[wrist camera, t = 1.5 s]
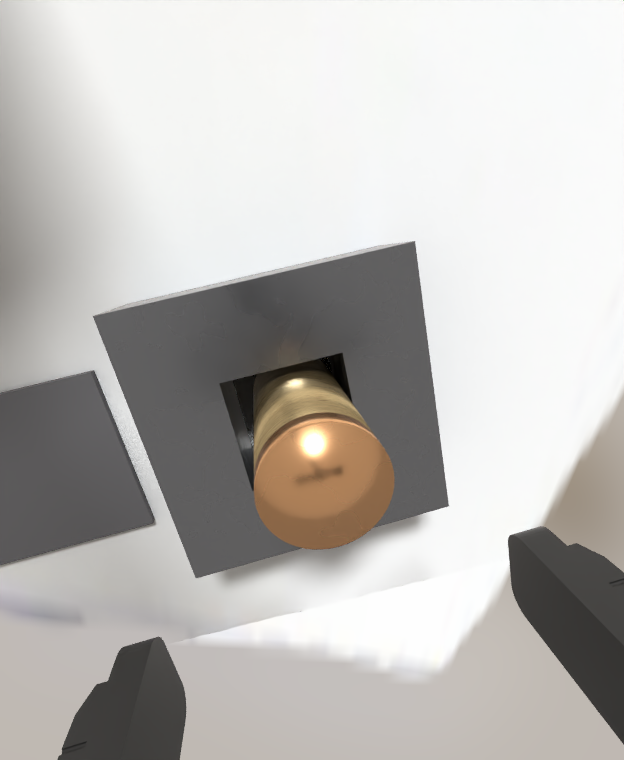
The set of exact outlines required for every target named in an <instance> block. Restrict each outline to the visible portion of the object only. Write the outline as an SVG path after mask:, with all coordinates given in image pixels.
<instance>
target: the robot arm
mask: <svg viewBox="0 0 624 760" xmlns="http://www.w3.org/2000/svg"><path fill="white" fill-rule="evenodd" d="M508 547H509V559H510V572H511V584H512V590H513V593H514V596H515V599H516V601H517V603H518V605H519V607H520V609H521V611H522V612H523V614H524V615H525V617H526V618H527V620H528V621H529V622H530V624H531V625H532V626H533V627H534V629H535V630H536V631H537V632H538V634H539V635H540V636H541V638H542V639H543V640H544V642H545V643H546V644H547V645H548V647H549V648H550V649H551V651H552V652H553V653H554V655H555V656H556V657H557V658H558V660H559V661H560V662H561V664H562V665H563V666H564V668H565V669H566V670H567V671H568V673H569V674H570V675H571V677H572V678H573V679H574V681H575V682H576V683H577V684H578V686H579V687H580V688H581V690H582V691H583V692H584V693H585V695H586V696H587V697H588V699H589V700H590V701H591V703H592V704H593V705H594V706H595V708H596V709H597V710H598V712H599V713H600V714H601V716H602V717H603V718H604V719H605V721H606V722H607V723H608V725H609V726H610V727H611V729H612V730H613V731H614V732H615V734H616V735H617V736H618V738H619V739H620V740H621V741H622V743H623V744H624V573H623V572H622V571H621V570H620V569H619V568H617V567H616V566H615V565H614V564H613V563H611V562H610V561H609V560H608V559H607V558H605V557H604V556H602V555H600V554H597V553H596V552H593V551H591V550H589V549H587V548H585V547H583V546H581V545H579V544H577V543H576V544H573V545H569V546H567V545H566V544H564V543H563V542H562V541H561V540H560V539H559V538H558V537H557V536H556V535H554V534H553V533H552V532H551V531H550V530H549V529H547V528H546V527H542V526H540V527H537V528H534V529H530V530H527V531H523V532H520V533H516V534H513V535H510V536H509V539H508ZM185 719H186V698H185V691H184V687H183V684H182V681H181V679H180V677H179V675H178V673H177V671H176V668H175V666H174V664H173V661H172V659H171V657H170V655H169V652H168V650H167V648H166V646H165V643H164V641H163V640H162V639H161V638H160V637H156V638H153V639H149V640H146V641H142V642H139V643H135V644H132V645H129V646H125V647H123V648H121V650H120V651H119V653H118V655H117V657H116V660H115V663H114V666H113V668H112V671H111V674H110V677H109V680H108V681H107V682H104V683H100V684H97V685H96V686H95V687H94V689H93V690H92V692H91V693H90V695H89V696H88V697H87V699H86V700H85V702H84V703H83V705H82V706H81V708H80V709H79V710H78V712H77V713H76V715H75V717H74V719H73V722H72V724H71V727H70V729H69V732H68V735H67V737H66V740H65V742H64V745H63V747H62V755H60V756H59V757H58V760H180V752H181V747H182V740H183V733H184V726H185Z"/></svg>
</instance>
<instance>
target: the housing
mask: <svg viewBox="0 0 624 760" xmlns="http://www.w3.org/2000/svg"><path fill="white" fill-rule="evenodd" d="M93 317H94V320H95V323H96V325H97V328H98V330H99V333H100V335H101V338H102V340H103V343H104V345H105V348H106V351H107V353H108V356H109V358H110V361H111V363H112V366H113V368H114V371H115V373H116V376H117V379H118V381H119V384H120V386H121V389H122V391H123V394H124V396H125V399H126V401H127V404H128V407H129V409H130V412H131V414H132V417H133V419H134V422H135V424H136V427H137V429H138V432H139V435H140V437H141V440H142V442H143V445H144V447H145V450H146V452H147V455H148V458H149V460H150V463H151V465H152V468H153V470H154V473H155V475H156V478H157V480H158V483H159V486H160V488H161V491H162V493H163V496H164V498H165V501H166V503H167V506H168V508H169V511H170V514H171V516H172V519H173V521H174V524H175V526H176V529H177V531H178V534H179V536H180V539H181V542H182V544H183V547H184V549H185V552H186V554H187V557H188V559H189V562H190V564H191V567H192V570H193V572H194V575H195V577H196V578H199V577H202V576H206V575H209V574H213V573H216V572H220V571H223V570H227V569H230V568H234V567H237V566H241V565H244V564H248V563H251V562H255V561H258V560H262V559H265V558H269V557H272V556H276V555H279V554H283V553H286V552H290V551H293V550H297V549H300V548H301V547H296V546H294V545H291V544H288V543H286V542H284V541H282V540H281V539H279V538H278V537H276V536H275V535H274V534H273V533H272V532H271V531H270V530H269V529H268V528H267V527H266V526H265V525H264V523H263V522H262V520H261V518H260V516H259V514H258V511H257V509H256V505H255V499H254V446H253V447H252V444H251V441H250V437H249V434H248V430H247V427H246V424H245V420H244V417H243V414H242V410H241V407H240V403H239V400H238V397H237V393H236V390H235V387H234V383H233V380H235V379H239V378H243V377H247V376H251V375H255V374H259V373H263V372H267V371H271V370H275V369H279V368H283V367H287V366H291V365H295V364H299V363H303V362H307V361H311V360H315V359H319V358H323V357H327V356H329V360H330V365H331V370H332V374H333V377H334V378H335V380H336V381H337V382H338V384H339V385H340V387H341V388H342V389H343V391H344V392H345V394H346V395H347V397H348V398H349V399H350V401H351V402H352V404H353V405H354V406H355V408H356V409H357V411H358V412H359V414H360V415H361V416H362V418H363V419H364V421H365V422H366V423H367V425H368V426H369V428H370V429H371V431H372V432H373V433H374V435H375V436H376V438H377V439H378V440H379V442H380V443H381V445H382V446H383V447H384V449H385V451H386V452H387V454H388V455H389V458H390V460H391V463H392V466H393V470H394V490H393V495H392V498H391V501H390V504H389V506H388V508H387V510H386V512H385V513H384V515H383V516H382V518H381V519H380V520H379V521H378V523H377V524H376V525H375V526H374V527H377V526H381V525H384V524H388V523H391V522H395V521H398V520H402V519H405V518H409V517H412V516H416V515H419V514H423V513H426V512H430V511H433V510H437V509H440V508H444V507H447V506H449V504H448V497H447V489H446V481H445V473H444V465H443V457H442V450H441V442H440V434H439V426H438V418H437V411H436V403H435V395H434V387H433V379H432V372H431V364H430V356H429V348H428V340H427V333H426V325H425V317H424V309H423V301H422V294H421V286H420V278H419V270H418V262H417V254H416V247H415V241H412V242H404V243H396V244H388V245H380V246H376V247H372V248H367V249H363V250H359V251H354V252H350V253H346V254H341V255H337V256H333V257H329V258H324V259H320V260H316V261H311V262H307V263H303V264H298V265H294V266H290V267H285V268H281V269H277V270H272V271H268V272H264V273H260V274H255V275H251V276H247V277H242V278H238V279H234V280H229V281H225V282H221V283H216V284H212V285H208V286H204V287H199V288H195V289H191V290H186V291H182V292H178V293H173V294H169V295H165V296H160V297H156V298H152V299H148V300H143V301H139V302H135V303H130V304H127V305H124V306H121V307H118V308H115V309H112V310H109V311H106V312H104V313H101V314H98V315H95V316H93ZM374 527H373V528H374Z"/></svg>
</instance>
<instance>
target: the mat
mask: <svg viewBox="0 0 624 760" xmlns="http://www.w3.org/2000/svg"><path fill="white" fill-rule="evenodd" d="M153 522H154V516H153V514H152V512H151V509H150V507H149V504H148V502H147V499H146V497H145V495H144V492H143V490H142V487H141V485H140V482H139V480H138V477H137V475H136V473H135V470H134V468H133V465H132V463H131V460H130V458H129V455H128V453H127V451H126V448H125V446H124V443H123V441H122V438H121V436H120V434H119V431H118V429H117V426H116V424H115V421H114V419H113V416H112V414H111V412H110V409H109V407H108V404H107V402H106V399H105V397H104V394H103V392H102V390H101V387H100V385H99V382H98V380H97V377H96V375H95V373H94V370H93V371H89V372H85V373H81V374H76V375H72V376H68V377H64V378H60V379H56V380H52V381H48V382H43V383H39V384H35V385H31V386H27V387H23V388H19V389H15V390H10V391H6V392H2V393H0V565H2V564H6V563H9V562H13V561H17V560H20V559H24V558H28V557H31V556H35V555H38V554H42V553H46V552H49V551H53V550H57V549H60V548H64V547H68V546H71V545H75V544H79V543H82V542H86V541H90V540H93V539H97V538H101V537H104V536H108V535H112V534H115V533H119V532H123V531H126V530H130V529H134V528H137V527H141V526H145V525H148V524H152V523H153Z"/></svg>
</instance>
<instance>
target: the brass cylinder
mask: <svg viewBox="0 0 624 760" xmlns="http://www.w3.org/2000/svg"><path fill="white" fill-rule="evenodd" d="M253 413H254V499H255V505H256V509H257V511H258V514H259V516H260V518H261V520H262V522H263V523H264V525H265V526H266V527H267V528H268V529H269V530H270V531H271V532H272V533H273V534H274V535H275V536H276V537H278V538H279V539H281V540H282V541H284V542H286V543H288V544H291V545H294V546H296V547H301V548H305V549H330V548H335V547H339V546H342V545H345V544H348V543H350V542H352V541H354V540H356V539H358V538H360V537H361V536H363V535H364V534H366V533H367V532H368V531H369V530H371V529H372V528H373V527H374V526H375V525H376V524H377V523H378V521H379V520H380V519H381V518H382V516H383V515H384V513H385V512H386V510H387V508H388V506H389V504H390V501H391V498H392V495H393V490H394V470H393V466H392V463H391V460H390V458H389V455H388V454H387V452H386V451H385V449H384V447H383V446H382V445H381V443H380V442H379V440H378V439H377V438H376V436H375V435H374V433H373V432H372V431H371V429H370V428H369V426H368V425H367V423H366V422H365V421H364V419H363V418H362V416H361V415H360V414H359V412H358V411H357V409H356V408H355V406H354V405H353V404H352V402H351V401H350V399H349V398H348V397H347V395H346V394H345V392H344V391H343V389H342V388H341V387H340V385H339V384H338V382H337V381H336V380H335V378H334V377H333V375H332V374H331V373H330V371H329V370H328V368H327V367H326V366H325V364H324V363H323V362H322V361H321V360H320V359H315V360H311V361H307V362H303V363H299V364H295V365H291V366H287V367H283V368H279V369H275V370H271V371H267V372H263V373H259V374H257V375H256V378H255V381H254V388H253Z"/></svg>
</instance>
